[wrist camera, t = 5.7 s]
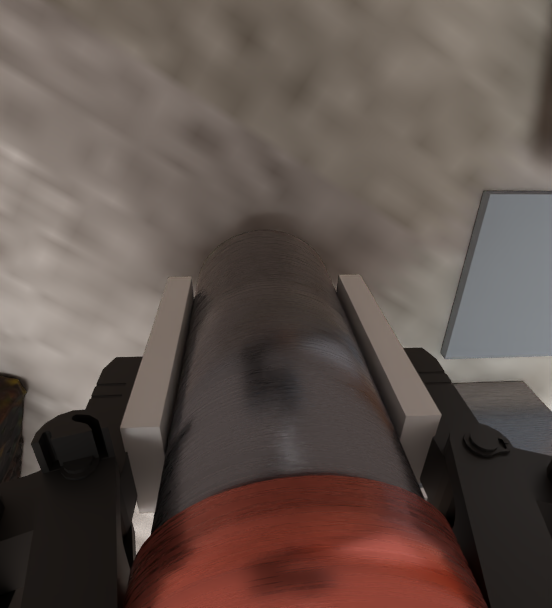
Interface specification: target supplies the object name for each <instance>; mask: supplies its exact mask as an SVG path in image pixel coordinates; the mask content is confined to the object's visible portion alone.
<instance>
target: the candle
mask: <svg viewBox="0 0 552 608" xmlns="http://www.w3.org/2000/svg"><path fill="white" fill-rule="evenodd" d="M26 393H27V391H26V390H25V389H24V388H23V386H22V385H21V383H20V382H19V380H18V379H14V378H8V377H4V376H0V484H2V483H5V482H8V481H12V480H15V479H18V478H19V476H20V473H21V471H20V465H21V461H20V458H21V454H22V449H21V445H22V444H23V440H22V437H21V422H22V417H23V398H24V396H25V394H26Z"/></svg>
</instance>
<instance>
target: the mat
mask: <svg viewBox="0 0 552 608" xmlns="http://www.w3.org/2000/svg"><path fill="white" fill-rule="evenodd" d="M441 354H442V356H443V357H444V358H445V359H464V358H497V357H530V356H552V191H484V192H483V196H482V200H481V203H480V207H479V211H478V215H477V218H476V222H475V226H474V230H473V233H472V237H471V241H470V245H469V248H468V252H467V256H466V260H465V263H464V267H463V271H462V275H461V278H460V282H459V286H458V290H457V293H456V297H455V301H454V305H453V308H452V312H451V316H450V320H449V323H448V327H447V331H446V335H445V339H444V342H443V346H442V350H441Z"/></svg>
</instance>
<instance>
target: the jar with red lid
mask: <svg viewBox="0 0 552 608" xmlns="http://www.w3.org/2000/svg"><path fill="white" fill-rule="evenodd" d="M123 608H488V607H487V604H486V602H485V600H484V598H483V596H482V594H481V591H480V589H479V587H478V585H477V583H476V580H475V578H474V576H473V574H472V572H471V570H470V567H469V565H468V563H467V561H466V559H465V557H464V554H463V552H462V550H461V548H460V546H459V543H458V541H457V539H456V537H455V535H454V533H453V530H452V528H451V526H450V524H449V523H448V521H447V520H446V519H445V517H444V516H443V514H442V513H441V512H440V511H438V510H437V509H436V508H435V507H434V506H433V505H432V504H431V503H429V502H427V501H426V500H425V498H424V496H423V493H422V491H421V489H420V486H419V484H418V482H417V479H416V477H415V475H414V472H413V470H412V468H411V465H410V463H409V461H408V458H407V456H406V454H405V451H404V449H403V447H402V444H401V442H400V440H399V438H398V435H397V433H396V431H395V428H394V426H393V424H392V421H391V419H390V417H389V414H388V412H387V410H386V407H385V405H384V403H383V400H382V398H381V396H380V393H379V391H378V389H377V386H376V384H375V382H374V379H373V377H372V375H371V372H370V370H369V368H368V365H367V363H366V361H365V358H364V356H363V354H362V351H361V349H360V347H359V344H358V342H357V340H356V337H355V335H354V333H353V330H352V328H351V326H350V323H349V321H348V319H347V316H346V314H345V312H344V309H343V307H342V305H341V302H340V300H339V298H338V295H337V293H336V291H335V288H334V286H333V284H332V282H331V279H330V277H329V275H328V272H327V270H326V268H325V265H324V263H323V261H322V260H321V258H320V257H319V255H318V254H317V253H316V252H315V250H314V249H313V248H311V247H310V246H309V245H308V244H307V243H305V242H304V241H302V240H301V239H299V238H297V237H295V236H292V235H290V234H287V233H284V232H278V231H271V230H259V231H251V232H246V233H243V234H240V235H237V236H235V237H233V238H231V239H229V240H227V241H225V242H224V243H222V244H221V245H220V246H219V247H217V248H216V249H215V250H214V251H213V252H212V253H211V254H210V255H209V257H208V258H207V260H206V261H205V263H204V264H203V266H202V268H201V271H200V274H199V277H198V281H197V286H196V292H195V297H194V303H193V308H192V314H191V319H190V324H189V330H188V335H187V341H186V346H185V352H184V357H183V362H182V368H181V373H180V379H179V384H178V389H177V395H176V400H175V406H174V411H173V417H172V422H171V427H170V433H169V438H168V444H167V449H166V455H165V460H164V465H163V471H162V476H161V482H160V487H159V492H158V498H157V503H156V509H155V514H154V520H153V525H152V530H151V536H150V537H149V538H148V539H147V540H146V541H145V542H144V543H143V545H142V546H141V548H140V550H139V551H138V553H137V555H136V556H135V559H134V562H133V564H132V567H131V571H130V576H129V581H128V585H127V590H126V595H125V599H124V604H123Z"/></svg>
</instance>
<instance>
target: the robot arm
mask: <svg viewBox="0 0 552 608" xmlns="http://www.w3.org/2000/svg"><path fill="white" fill-rule="evenodd" d="M337 295H338V298H339V300H340V302H341V305H342V307H343V309H344V312H345V314H346V316H347V319H348V321H349V323H350V326H351V328H352V330H353V333H354V335H355V337H356V340H357V342H358V344H359V347H360V349H361V351H362V354H363V356H364V358H365V361H366V363H367V365H368V368H369V370H370V372H371V375H372V377H373V379H374V382H375V384H376V386H377V389H378V391H379V393H380V396H381V398H382V400H383V403H384V405H385V407H386V410H387V412H388V414H389V417H390V419H391V421H392V424H393V426H394V428H395V431H396V433H397V435H398V438H399V440H400V442H401V444H402V447H403V449H404V451H405V454H406V456H407V458H408V461H409V463H410V465H411V468H412V470H413V472H414V475H415V477H416V479H417V482H418V484H419V485H420V481H421V484H422V486H423V488H424V490H425V493H426V495H427V497H428V498H427V502H429V503H431V504H432V505H433V506H434V507H435V508H436V509H437V510H438V511H440V512H441V513H442V514H443V516H444V517H445V519H446V520H447V521H448V523H449V524H450V526H451V528H452V530H453V533H454V535H455V537H456V539H457V541H458V543H459V546H460V548H461V550H462V552H463V554H464V557H465V559H466V561H467V563H468V565H469V567H470V570H471V572H472V574H473V576H474V578H475V580H476V583H477V585H478V587H479V589H480V591H481V594H482V596H483V598H484V600H485V602H486V604H487V607H488V608H552V456H550V455H545V454H541V453H536V452H531V451H527V450H522V449H518V448H515V447H513V446H512V444H511V443H510V441H509V440H508V439H507V438H506V437H505V436H504V435H502V434H501V433H500V432H499V431H497V430H495V429H493V428H491V427H489V426H488V425H484V424H481V423H479V422H478V420H477V419H476V417H475V416H474V414H473V413H472V411H471V410H470V408H469V407H468V406H467V404H466V403H465V401H464V400H463V398H462V397H461V395H460V394H459V392H458V391H457V389H456V388H455V386H454V385H453V384H452V383H451V380H450V379H449V377H448V376H447V374H445V373H444V370H443V368H442V367H441V365H440V364H439V362H438V361H437V359H436V358H435V357H433V356H432V355H431V354H429V353H428V352H427V351H425V350H424V349H423V348H403V347H402V346H401V344H400V342H399V341H398V339H397V337H396V335H395V334H394V332H393V330H392V328H391V327H390V325H389V323H388V322H387V320H386V318H385V316H384V315H383V313H382V311H381V309H380V308H379V306H378V304H377V303H376V301H375V299H374V297H373V296H372V294H371V292H370V290H369V289H368V287H367V285H366V284H365V282H364V280H363V278H362V277H361V275H339V277H338V285H337ZM193 303H194V297H193V286H192V277H168V280H167V283H166V287H165V290H164V293H163V296H162V299H161V302H160V305H159V308H158V311H157V314H156V318H155V321H154V324H153V327H152V330H151V333H150V336H149V339H148V342H147V345H146V349H145V352H144V355H143V357H116V358H115V359H114V360H113V361H112V362H110V363H109V364H108V365H107V366H106V367H105V368H104V369H103V370H102V373H101V375H100V377H99V379H98V382H97V386H96V387H95V389H94V391H93V393H92V395H91V396H92V397H91V399H90V400H89V402H88V405H87V407H86V409H85V410H75V411H70V412H67V413H64V414H61V415H58V416H57V417H55V418H53V419H52V420H50V421H48V422H47V423H45V424H44V425H43V426H42V427H41V428H40V429H39V430H38V431H37V432H36V434H35V436H34V438H33V440H32V442H31V445H32V448H33V450H34V453H35V455H36V458H37V460H38V463H39V466H40V468H41V470H40V471H38V472H36V473H33V474H31V475H28V476H25V477H22V478H18V479H15V480H12V481H8V482H5V483H2V484H0V608H123V604H124V599H125V595H126V590H127V585H128V581H129V576H130V571H131V567H132V564H133V562H134V559H135V556H136V547H135V531H134V527H133V523H132V518H133V513H134V509H135V505H136V500H137V504H138V509H139V513H154V512H155V509H156V503H157V498H158V492H159V487H160V482H161V476H162V471H163V465H164V460H165V455H166V449H167V444H168V438H169V433H170V427H171V422H172V417H173V411H174V406H175V400H176V395H177V389H178V384H179V379H180V373H181V368H182V362H183V357H184V352H185V346H186V341H187V335H188V330H189V324H190V319H191V314H192V308H193Z"/></svg>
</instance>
